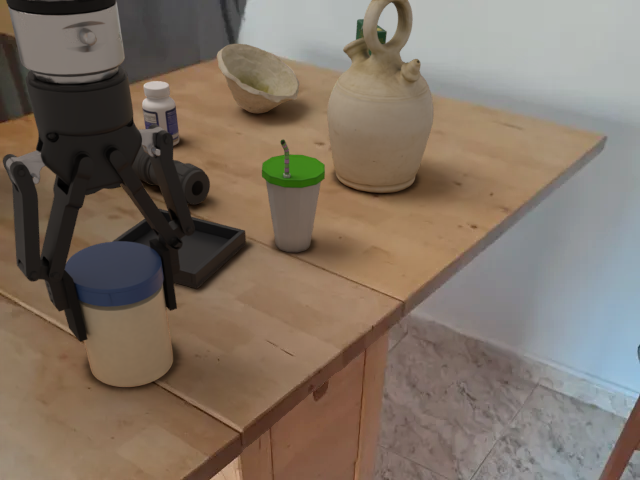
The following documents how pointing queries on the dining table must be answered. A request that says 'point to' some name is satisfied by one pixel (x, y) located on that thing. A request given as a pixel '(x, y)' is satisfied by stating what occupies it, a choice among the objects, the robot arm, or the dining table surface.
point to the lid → (115, 273)
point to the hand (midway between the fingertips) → (124, 318)
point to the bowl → (257, 77)
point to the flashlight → (189, 175)
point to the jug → (380, 109)
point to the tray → (195, 248)
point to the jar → (128, 341)
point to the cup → (293, 197)
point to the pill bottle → (160, 108)
